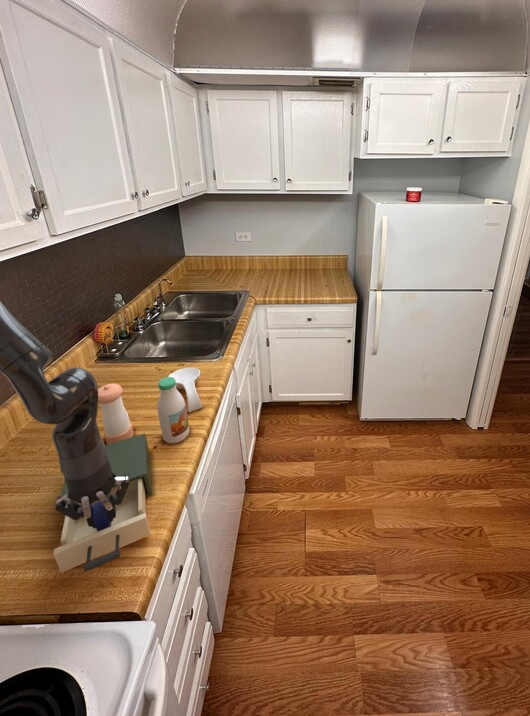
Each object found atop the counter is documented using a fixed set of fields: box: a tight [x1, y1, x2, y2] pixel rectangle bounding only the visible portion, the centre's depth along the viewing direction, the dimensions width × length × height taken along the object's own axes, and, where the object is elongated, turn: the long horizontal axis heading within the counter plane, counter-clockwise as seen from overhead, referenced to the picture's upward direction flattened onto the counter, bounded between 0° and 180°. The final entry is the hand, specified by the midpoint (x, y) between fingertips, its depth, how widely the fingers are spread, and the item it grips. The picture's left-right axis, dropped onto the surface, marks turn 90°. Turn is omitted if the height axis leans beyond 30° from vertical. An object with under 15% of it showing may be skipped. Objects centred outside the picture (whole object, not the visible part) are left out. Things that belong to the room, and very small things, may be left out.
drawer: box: [53, 477, 151, 574], centre depth 73 cm, size 18×16×6 cm
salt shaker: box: [98, 383, 135, 445], centre depth 98 cm, size 7×7×19 cm
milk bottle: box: [156, 376, 190, 444], centre depth 99 cm, size 8×8×20 cm
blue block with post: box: [92, 501, 111, 532], centre depth 73 cm, size 2×7×6 cm, turn 27°
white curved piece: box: [167, 366, 203, 413], centre depth 121 cm, size 24×12×7 cm, turn 32°
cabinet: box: [60, 432, 153, 518], centre depth 85 cm, size 15×18×8 cm
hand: (103, 521), depth 72 cm, fingers closed on blue block with post, 2 cm apart
